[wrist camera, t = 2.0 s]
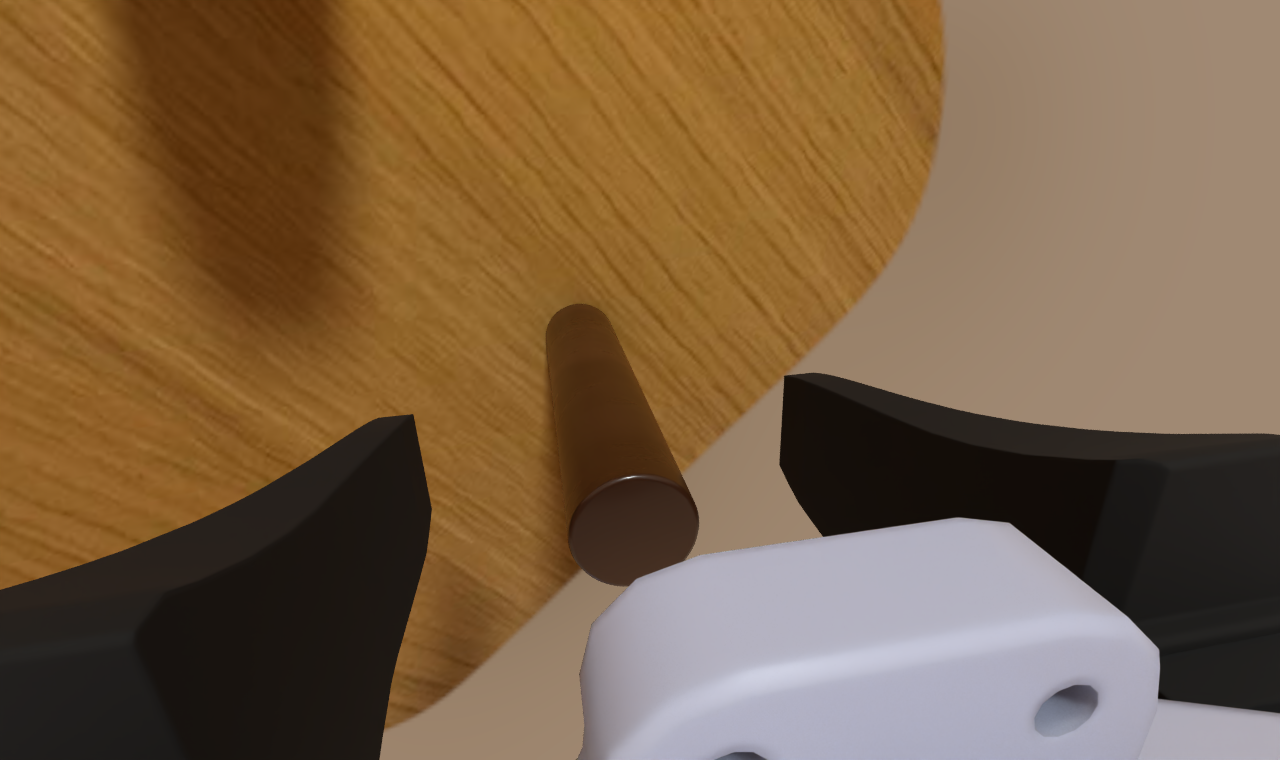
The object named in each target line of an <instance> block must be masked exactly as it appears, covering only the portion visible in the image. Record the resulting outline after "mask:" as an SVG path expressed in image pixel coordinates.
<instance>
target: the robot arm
mask: <svg viewBox="0 0 1280 760" xmlns="http://www.w3.org/2000/svg"><path fill="white" fill-rule="evenodd" d="M780 467H781V469H782V471H783V473H784V475H785V477H786V479H787V482H788V484H789V486H790V488H791V489H792V491H793V493H794V495H795V497H796V499H797V500H798V502H799V504H800V505H801V507H802V508H803V510H804V511H805V512H806V514H807V515H808V517H809V518H810V519H811V521H812V522H813V524H814V525H815V526H816V528H817V529H818V530H819V532H820V533H821V534H822V536H823V537H820V538H813V539H807V540H800V541H793V542H786V543H779V544H772V545H766V546H759V547H752V548H746V549H738V550H732V551H725V552H718V553H711V554H705V555H699V556H696V557H694V558H691V559H688V560H685V561H683V562H680V563H677V564H675V565H672V566H669V567H667V568H664V569H661V570H659V571H656V572H653V573H650V574H648V575H645V576H642V577H640V578H637V579H636V580H635V581H634V582H633V583H632V584H631V585H630V586H629V587H628V588H627V589H626V590H625V591H624V592H623V593H622V594H621V595H620V596H619V597H618V598H617V599H616V600H615V601H614V602H613V603H612V604H611V605H610V606H609V607H608V608H607V609H606V610H605V611H604V612H603V613H602V614H601V615H600V616H599V617H598V618H597V619H596V620H595V621H594V622H593V623H592V625H591V629H590V633H589V637H588V641H587V645H586V649H585V653H584V658H583V662H582V666H581V670H580V674H579V675H580V685H581V695H582V705H583V714H584V737H583V748H582V750H581V752H580V754H579V756H578V758H577V759H576V760H1280V435H1274V434H1156V433H1155V434H1154V433H1133V432H1114V431H1099V430H1087V429H1086V430H1085V429H1076V428H1067V427H1059V426H1050V425H1040V424H1033V423H1026V422H1019V421H1013V420H1007V419H1002V418H996V417H991V416H985V415H979V414H974V413H970V412H965V411H960V410H956V409H952V408H947V407H944V406H940V405H936V404H932V403H927V402H924V401H920V400H916V399H913V398H909V397H906V396H902V395H899V394H895V393H892V392H888V391H885V390H882V389H878V388H875V387H872V386H868V385H865V384H862V383H858V382H855V381H851V380H847V379H844V378H840V377H836V376H831V375H827V374H821V373H806V374H797V375H787V376H784V393H783V410H782V428H781V446H780ZM431 511H432V508H431V503H430V497H429V492H428V487H427V482H426V477H425V472H424V467H423V462H422V457H421V452H420V447H419V441H418V436H417V431H416V426H415V421H414V416H413V414H411V415H401V416H392V417H382V418H377V419H375V420H372V421H370V422H368V423H367V424H365V425H363V426H362V427H360V428H358V429H357V430H355V431H354V432H352V433H350V434H349V435H347V436H346V437H344V438H343V439H341V440H340V441H338V442H337V443H335V444H334V445H332V446H330V447H329V448H327V449H326V450H324V451H323V452H321V453H320V454H318V455H317V456H315V457H314V458H312V459H310V460H309V461H307V462H306V463H304V464H302V465H301V466H299V467H297V468H296V469H294V470H292V471H291V472H289V473H287V474H285V475H284V476H282V477H280V478H279V479H277V480H275V481H274V482H272V483H270V484H269V485H267V486H265V487H264V488H262V489H260V490H258V491H256V492H254V493H253V494H251V495H249V496H247V497H245V498H243V499H241V500H239V501H237V502H235V503H233V504H231V505H229V506H227V507H225V508H223V509H221V510H219V511H217V512H215V513H212V514H210V515H208V516H206V517H204V518H202V519H200V520H197V521H195V522H193V523H191V524H188V525H186V526H183V527H181V528H178V529H176V530H173V531H171V532H168V533H166V534H163V535H161V536H158V537H156V538H153V539H151V540H148V541H146V542H143V543H141V544H138V545H136V546H134V547H131V548H129V549H126V550H123V551H120V552H118V553H115V554H112V555H109V556H106V557H103V558H100V559H97V560H95V561H92V562H89V563H86V564H83V565H80V566H77V567H74V568H71V569H68V570H64V571H61V572H58V573H55V574H52V575H49V576H45V577H42V578H39V579H36V580H33V581H29V582H26V583H22V584H19V585H16V586H12V587H9V588H5V589H2V590H0V760H379V758H380V751H381V744H382V737H383V731H384V725H385V719H386V713H387V707H388V701H389V694H390V688H391V683H392V678H393V674H394V669H395V665H396V661H397V657H398V653H399V650H400V646H401V643H402V639H403V636H404V632H405V629H406V625H407V621H408V618H409V614H410V611H411V607H412V604H413V600H414V597H415V593H416V590H417V586H418V583H419V579H420V575H421V572H422V568H423V564H424V561H425V557H426V553H427V545H428V538H429V530H430V520H431Z"/></svg>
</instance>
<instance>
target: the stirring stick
mask: <svg viewBox="0 0 1280 760" xmlns="http://www.w3.org/2000/svg"><path fill="white" fill-rule="evenodd" d="M546 344H547V353H548V362H549V372H550V381H551V390H552V399H553V408H554V417H555V426H556V435H557V444H558V454H559V463H560V472H561V481H562V490H563V499H564V508H565V517H566V526H567V536H568V543H569V548H570V551H571V554H572V556H573V558H574V559H575V561H576V562H577V564H578V565H579V566H580V567H581V568H582V569H583V570H584V571H585V572H586V573H587V574H589V575H590V576H591V577H593V578H595V579H596V580H598V581H601V582H604V583H606V584H610V585H615V586H630V585H631V584H632V583H633V582H634V581H635V580H636V579H637V578H640V577H642V576H645V575H648V574H650V573H653V572H656V571H659V570H661V569H664V568H667V567H669V566H672V565H675V564H677V563H680V562H683V561H684V560H685V559H686V558H687V556H688V555H689V553H690V552H691V550H692V548H693V546H694V544H695V541H696V538H697V534H698V529H699V516H698V511H697V507H696V505H695V502H694V500H693V498H692V496H691V494H690V492H689V489H688V487H687V485H686V483H685V481H684V479H683V477H682V475H681V472H680V470H679V468H678V466H677V464H676V462H675V460H674V457H673V455H672V453H671V451H670V449H669V447H668V445H667V443H666V440H665V438H664V436H663V434H662V432H661V430H660V428H659V426H658V423H657V421H656V419H655V417H654V415H653V413H652V411H651V409H650V406H649V404H648V402H647V400H646V398H645V396H644V394H643V391H642V389H641V387H640V385H639V383H638V381H637V379H636V377H635V374H634V372H633V370H632V368H631V366H630V364H629V362H628V360H627V357H626V355H625V353H624V351H623V349H622V347H621V345H620V343H619V340H618V338H617V336H616V334H615V332H614V330H613V328H612V326H611V323H610V321H609V320H608V318H607V317H606V315H605V314H604V313H603V312H601V311H600V310H599V309H597V308H595V307H593V306H590V305H586V304H574V305H570V306H567V307H565V308H563V309H561V310H560V311H558V312H557V313H556V314H555V315H554V316H553V318H552V319H551V320H550V322H549V324H548V327H547V331H546Z"/></svg>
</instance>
